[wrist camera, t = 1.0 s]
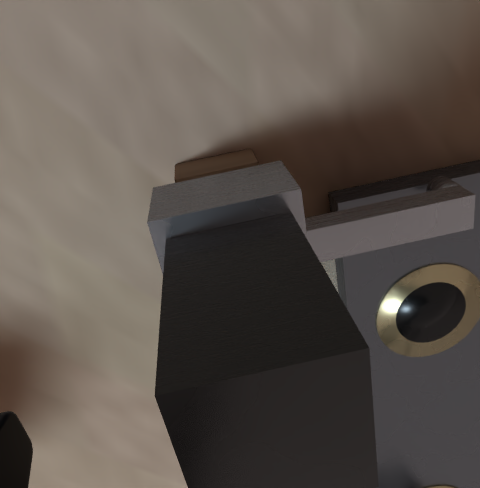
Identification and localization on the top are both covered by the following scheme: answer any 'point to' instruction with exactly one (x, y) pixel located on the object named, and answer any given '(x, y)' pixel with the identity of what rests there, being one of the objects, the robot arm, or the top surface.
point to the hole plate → (420, 340)
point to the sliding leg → (272, 326)
